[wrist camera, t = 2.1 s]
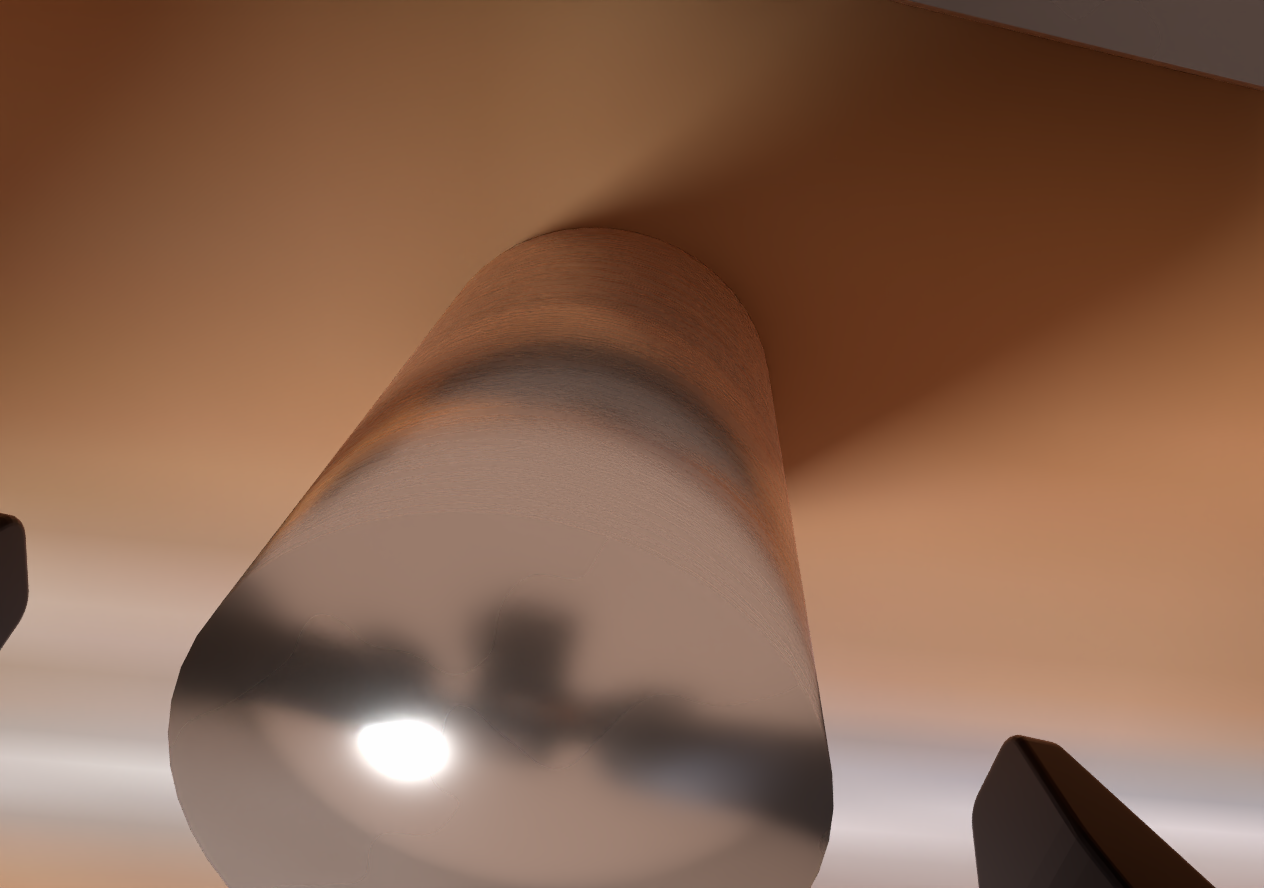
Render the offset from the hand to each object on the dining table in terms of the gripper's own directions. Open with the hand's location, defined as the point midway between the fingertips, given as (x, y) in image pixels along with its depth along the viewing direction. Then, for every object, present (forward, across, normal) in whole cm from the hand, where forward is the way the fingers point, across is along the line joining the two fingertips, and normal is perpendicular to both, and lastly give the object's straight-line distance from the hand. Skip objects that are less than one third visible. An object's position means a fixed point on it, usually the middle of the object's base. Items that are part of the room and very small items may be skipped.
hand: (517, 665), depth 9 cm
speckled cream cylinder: (+6, 0, 0) cm, 6 cm away
